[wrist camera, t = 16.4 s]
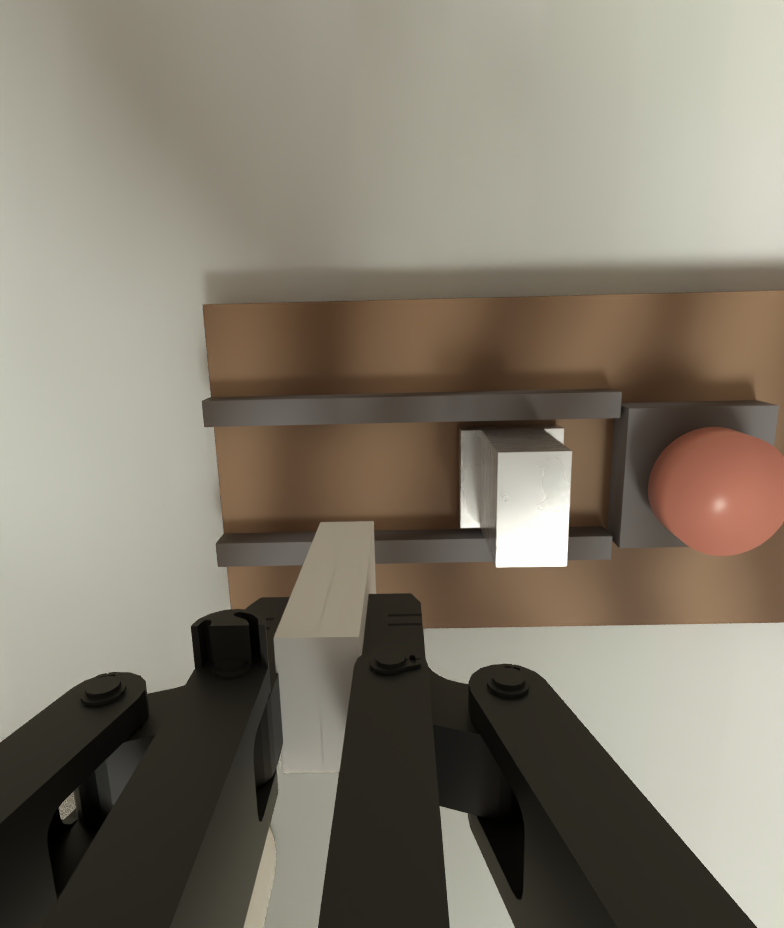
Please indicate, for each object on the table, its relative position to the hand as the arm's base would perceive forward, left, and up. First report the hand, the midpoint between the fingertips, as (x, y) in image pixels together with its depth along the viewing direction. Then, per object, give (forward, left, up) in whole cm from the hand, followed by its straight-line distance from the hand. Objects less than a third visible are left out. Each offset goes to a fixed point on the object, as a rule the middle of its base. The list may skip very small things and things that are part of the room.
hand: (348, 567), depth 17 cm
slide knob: (-4, -4, -8) cm, 10 cm away
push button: (-10, -9, -6) cm, 14 cm away
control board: (-9, -8, -10) cm, 16 cm away
